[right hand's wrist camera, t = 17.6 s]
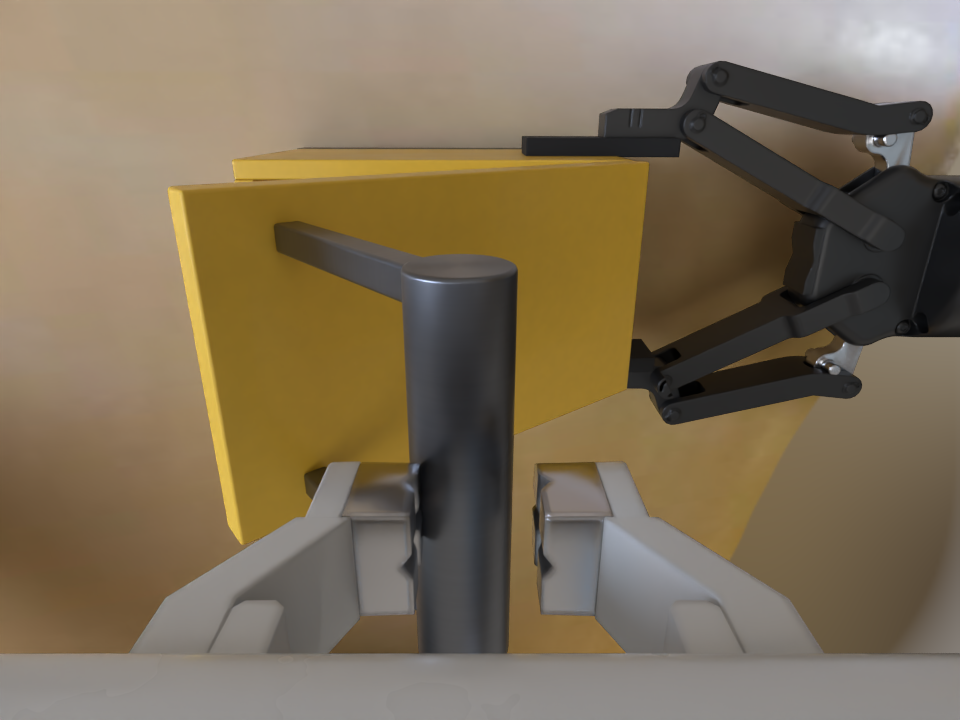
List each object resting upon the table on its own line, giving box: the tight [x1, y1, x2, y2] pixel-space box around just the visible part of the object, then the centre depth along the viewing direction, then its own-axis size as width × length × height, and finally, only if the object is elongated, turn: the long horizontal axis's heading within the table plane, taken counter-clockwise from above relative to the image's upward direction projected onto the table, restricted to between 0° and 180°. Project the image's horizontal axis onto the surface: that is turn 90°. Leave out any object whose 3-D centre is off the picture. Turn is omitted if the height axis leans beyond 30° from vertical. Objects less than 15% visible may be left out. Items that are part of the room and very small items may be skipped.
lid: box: [168, 160, 649, 654], centre depth 17 cm, size 16×9×9 cm
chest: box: [232, 148, 633, 183], centre depth 30 cm, size 15×9×11 cm, turn 90°
